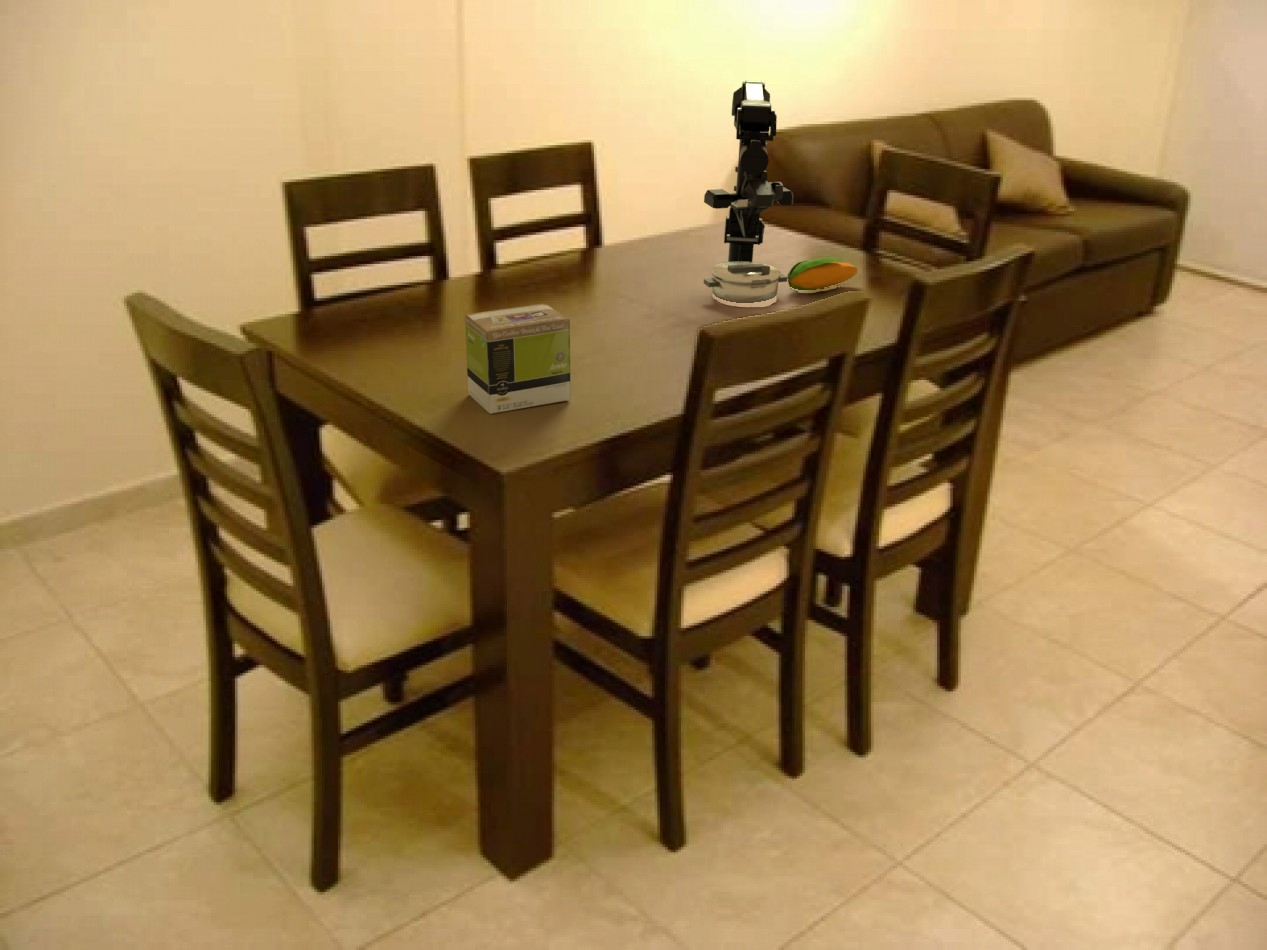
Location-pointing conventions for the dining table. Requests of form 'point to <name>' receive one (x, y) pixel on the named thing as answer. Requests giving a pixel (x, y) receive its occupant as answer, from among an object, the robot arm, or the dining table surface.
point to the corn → (819, 273)
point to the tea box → (518, 357)
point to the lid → (746, 273)
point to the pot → (743, 290)
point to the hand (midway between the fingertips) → (745, 236)
